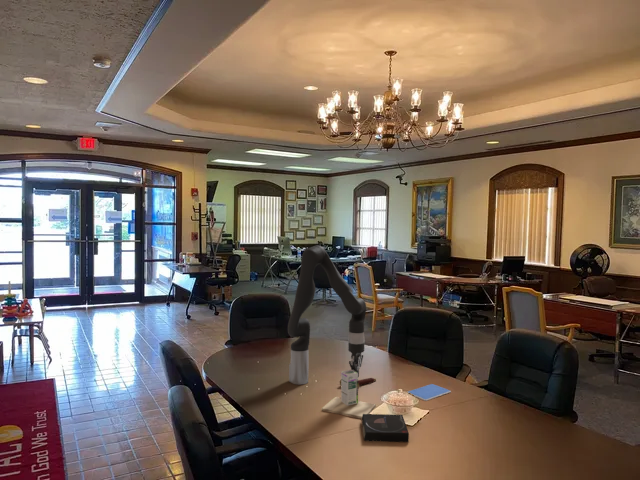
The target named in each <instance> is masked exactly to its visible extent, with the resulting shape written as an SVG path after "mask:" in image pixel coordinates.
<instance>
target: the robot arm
mask: <svg viewBox="0 0 640 480" xmlns="http://www.w3.org/2000/svg"><path fill="white" fill-rule="evenodd" d="M300 260H301V263H300V272H299V278H298V283H297V287H296V290H295V291H296V292H295V295H294V296H295V297H294V302H293V307H292V311H291V313H290V316H289V319H288V323H287V333H288V334H287V335H289V336H290V338H297V340H295V341H292V342H291V344H290V362H289V364H288V382H289V383H291V384H294V385H305V384H307V383H309V352H310V351H309V349H310V348H309V346H310V337H311V336H310V335H311V323H310V321H309V319H308V318H307V317H302V315H304V314H305V311H307V309H309V307H310V306H311V304H312V303H313V301H314V298H315V294H316V283H315V281H314V274H315V270H316V267H317V266H318V265H319V266H320V267H321V268H322V269H323V270H324V272H325V274H326V275H327V278H328V281H329V282H328V283H329V285H330V287H331V289H332V290H333V292H335V293H336V295H337V296H338V297H339V299H340V300H341V302H342V304H343V306H344V307H345V309H346V311H347V312H348V313H349V314H351V317H350V319H349V323H348V341H347V342H348V344H347V345H348V347H347V349H348V352H349V353H350V355H351V356H350V359H351V360H349V361H348V364H349V366H350V370H351V369H352V370H354V371H356V372H357V373H358V378H359V376H360V369H361V367H362V364H363V359H364V355H362V353H364V352H365V337H366V336H365V318H366V314H367V304H366V302H365V300H364V299H363V298H361V297H356V296H355V295H354V293H353V292H354V290H353V289H352V287H351V286H350V285H349V284H348V283H347V282H348V281H346V280H345V279H344V277H343V276H342V275H341V273H340V271H338V269H337V267H336V266H335V264H334V262H333V261H332V259H331V258H330V255H329V254H328V253H327V251H326V249H325V248H324V247H323V246H321V245H318V244H317V245H313V246H311V247H308V248H306V249H305V250H304V251H303V252H302V256H301V259H300Z"/></svg>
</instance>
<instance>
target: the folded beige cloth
mask: <svg viewBox="0 0 640 480" xmlns="http://www.w3.org/2000/svg"><path fill="white" fill-rule="evenodd" d="M376 407H377V405H376V404H375V403H371V402H367V401H366V402H365V401H360V400H358V404H353V405H349V406H347V405H345V404H344V403H343V402H342V401H341V397H339V396H335V397H334V398H332V399H331V400H330V401H329V402H327V403H326V404H325V405H324V406H322V407H321V411H323V412H328V413H333V414H336V415H342V416H346V417H352V418H357V419H361V420H362V416H363V414H371V413H372V412H373V410H375V408H376Z"/></svg>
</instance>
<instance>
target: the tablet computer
mask: <svg viewBox="0 0 640 480" xmlns="http://www.w3.org/2000/svg"><path fill="white" fill-rule="evenodd" d="M407 392H408V393H411V394H413V395H414V396H415V398H417V399H420V400H422V401H424V402H427V401H430V400H434V399H436V398H439V397H441V396H444V395H447V394H450V393H452V391H451V390H449V389H448V388H444V387H441V386H439V385H436V384H433V383H430V384H427V385H424V386H420V387H418V388H415V389H412V390H411V389H410V390H408V391H407ZM414 396H413V397H414Z"/></svg>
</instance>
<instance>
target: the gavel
mask: <svg viewBox="0 0 640 480" xmlns="http://www.w3.org/2000/svg"><path fill="white" fill-rule="evenodd" d="M375 381H377V378H373V377H369V378H363V379H358V390H359V389H360V386H362V385H368V384H372V383H374V382H375ZM339 385H340V387H341V379H340V381H339Z"/></svg>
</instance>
